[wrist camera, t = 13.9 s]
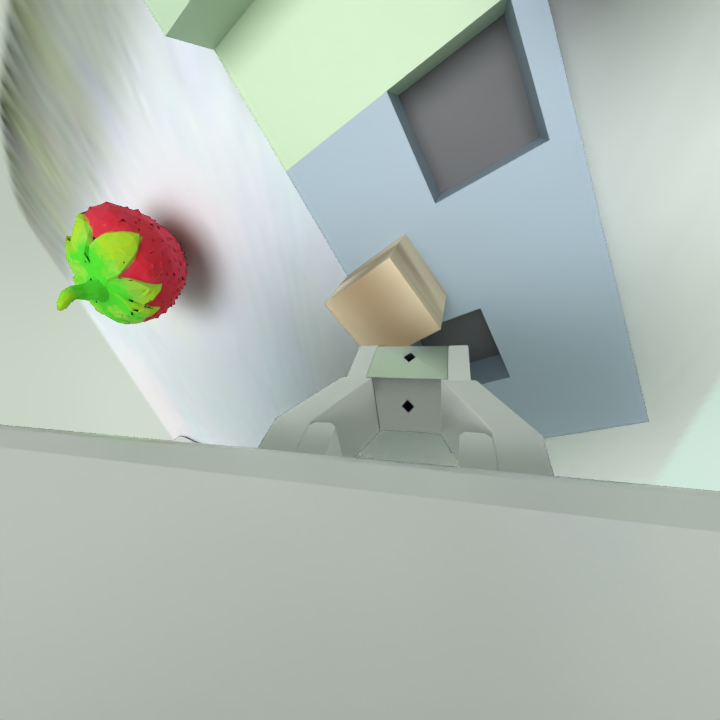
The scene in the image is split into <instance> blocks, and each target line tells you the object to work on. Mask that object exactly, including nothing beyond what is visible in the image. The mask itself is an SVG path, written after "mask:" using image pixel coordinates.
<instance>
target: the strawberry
mask: <svg viewBox="0 0 720 720" xmlns="http://www.w3.org/2000/svg"><path fill="white" fill-rule="evenodd" d="M180 245H181V244H180V243H178V242H177V241H176V239H175V236H173V235H171V234H170V230H169V229H166V228H165V227H163V226H160V225H159V224H158V223H156V220H153V219H151V217H149V216H146V215H144V214H141V212H140V211H139V210H138V209H136V210H132V209H129V208H128V207H122V206H119V205H116V204H112V203H109V202H105V203H103V204H100V205H97V206H94V207H89V209H88V211H86V212H83V213H80V214H77V218H76V221H75V225H74V228H73V232H72V236H66V242H65V248H66V259H67V261H68V263H69V265H70V267H71V269H72V271H73V273H74V274H75V276H74V277H73V282H74V283H75V285H74V286H70V287H68V288H66V289H65V290H63V291H62V292H61V294H60V296H59V298H58V301H57V310H60V311H61V310H64V309H66V308H67V307H68V306H69V304H70V303H71V302H73V301H74V300H75V299H82V300H88V301H90V303H91V304H92V305H93V306H94V307H95V309H96V311H98V312H100V313H101V314H105V315H106V316H107V317H109V318H111V319H113V320H115V321H116V322H119V323H123V324H136V323H141V322H145V321H148V320H150V319H154V318H159V316H160V315H161V314H162V313H166V312H167V309H168V308H169V307H172V305H174V304H175V299H178V295H180V291H181V290H182V289H183V286H184V285H186V283H185V280H186V276H187V275H188V274H187V273H188V272H187V270H186V266H187V265H188V264H187V263H186V262H185V260H186V258H185V257H184V254H185V252H183V251H182V250H181V247H180Z"/></svg>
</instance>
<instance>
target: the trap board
mask: <svg viewBox="0 0 720 720" xmlns="http://www.w3.org/2000/svg"><path fill="white" fill-rule="evenodd" d="M143 1H144V3H145V4H146V6H147V7H148V9H149V11H150V12H151V14H152V15H153V17H154V19H155V20H156V22H157V23H158V25H159V27H160V28H161V30H162V31H163V33H164V35H165V36H167V37H171V38H174V39H178V40H181V41H185V42H188V43H192V44H195V45H199V46H202V47H206V48H209V49H213V50H215V52H216V54H217V56H218V57H219V59H220V61H221V62H222V64H223V66H224V67H225V69H226V71H227V72H228V74H229V76H230V78H231V79H232V81H233V83H234V84H235V86H236V88H237V89H238V91H239V93H240V95H241V96H242V98H243V100H244V101H245V103H246V105H247V106H248V108H249V110H250V112H251V113H252V115H253V117H254V118H255V120H256V122H257V123H258V125H259V127H260V129H261V130H262V132H263V134H264V135H265V137H266V139H267V140H268V142H269V144H270V146H271V147H272V149H273V151H274V152H275V154H276V156H277V157H278V159H279V161H280V163H281V164H282V166H283V168H284V169H285V171H286V173H287V174H288V176H289V178H290V180H291V181H292V183H293V185H294V186H295V188H296V190H297V191H298V193H299V195H300V197H301V198H302V200H303V202H304V203H305V205H306V207H307V208H308V210H309V212H310V213H311V215H312V217H313V219H314V220H315V222H316V224H317V225H318V227H319V229H320V230H321V232H322V234H323V236H324V237H325V239H326V241H327V242H328V244H329V246H330V247H331V249H332V251H333V253H334V254H335V256H336V258H337V259H338V261H339V263H340V264H341V266H342V268H343V270H344V271H345V273H346V275H347V276H348V275H349V274H351V273H352V272H353V271H355V270H356V269H357V268H359V267H360V266H361V265H363V264H364V263H365V262H367V261H368V260H370V259H371V258H372V257H374V256H375V255H376V254H378V253H379V252H380V251H382V250H383V249H384V248H386V247H387V246H388V245H390V244H391V243H392V242H394V241H395V240H396V239H398V238H399V237H401V236H402V235H403V234H406V235H407V237H408V238H409V240H410V241H411V243H412V244H413V245H414V247H415V248H416V250H417V251H418V253H419V254H420V256H421V257H422V259H423V260H424V262H425V263H426V265H427V266H428V268H429V269H430V271H431V272H432V274H433V275H434V276H435V278H436V279H437V281H438V282H439V284H440V285H441V287H442V288H443V290H444V291H445V293H446V300H445V306H444V312H443V318H442V324H441V329H440V330H438V331H436V332H435V333H433V334H431V335H429V336H427V337H425V338H423V339H421V340H419V341H417V342H415V343H413V344H411V345H409V346H413V347H414V346H448V348H449V346H455V345H467V346H468V349H469V363H470V377H471V380H476V381H478V382H479V383H480V384H481V385H482V386H484V387H485V388H486V389H487V390H488V391H490V392H491V393H492V394H493V395H494V396H496V397H497V398H498V399H499V400H500V401H501V402H503V403H504V404H505V405H506V406H507V407H509V408H510V409H511V410H512V411H513V412H515V413H516V414H517V415H518V416H519V417H521V418H522V419H523V420H524V421H525V422H527V423H528V424H529V425H530V426H531V427H533V428H534V429H535V430H536V431H537V432H539V433H540V434H541V435H542V436H543V438H549V437H555V436H562V435H568V434H574V433H581V432H587V431H593V430H600V429H606V428H612V427H618V426H625V425H631V424H637V423H644V422H649V420H648V415H647V411H646V407H645V403H644V399H643V394H642V390H641V386H640V382H639V378H638V374H637V369H636V365H635V361H634V357H633V353H632V349H631V344H630V340H629V336H628V332H627V328H626V324H625V319H624V315H623V311H622V307H621V303H620V299H619V294H618V290H617V286H616V282H615V278H614V273H613V269H612V265H611V261H610V257H609V253H608V248H607V244H606V240H605V236H604V232H603V228H602V223H601V219H600V215H599V211H598V207H597V203H596V198H595V194H594V190H593V186H592V182H591V178H590V173H589V169H588V165H587V161H586V157H585V152H584V148H583V144H582V140H581V136H580V132H579V127H578V123H577V119H576V115H575V111H574V107H573V102H572V98H571V94H570V90H569V86H568V82H567V77H566V73H565V69H564V65H563V61H562V56H561V52H560V48H559V44H558V40H557V36H556V31H555V27H554V23H553V19H552V15H551V11H550V6H549V2H548V0H143ZM441 436H442V435H441ZM442 438H443V437H442ZM444 441H445V440H444ZM445 443H446V442H445ZM446 445H447V443H446ZM447 446H448V445H447ZM448 448H449V446H448ZM449 450H450V451H451V449H450V448H449ZM451 453H453V452H452V451H451Z"/></svg>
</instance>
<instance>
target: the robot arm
mask: <svg viewBox="0 0 720 720" xmlns="http://www.w3.org/2000/svg"><path fill="white" fill-rule="evenodd" d="M380 430H391V431H412V432H423V433H433V434H441V435H442V437H443V439H444V440H445V442H446V443H447V445H448V446H449V448H450V449H451V451H452V452H453V454H454V455H455V457H456V458H457V460H458V467H452V466H441V465H430V464H419V463H408V462H397V461H386V460H375V459H365V458H354V457H355V456H356V455H357V454H358V453H359V452H360V451H361V450H362V449H363V448H364V447H365V446H366V445H367V444H368V443H369V442H370V441H371V440H372V439H373V438H374V437H375V436H376V435H377V434H378V433H379V432H380ZM0 720H720V491H711V490H700V489H690V488H679V487H668V486H657V485H646V484H635V483H623V482H613V481H602V480H591V479H581V478H570V477H559V476H554V474H553V470H552V467H551V463H550V460H549V457H548V453H547V450H546V446H545V443H544V439H543V436H542V435H541V434H540V433H539V432H537V431H536V430H535V429H534V428H533V427H531V426H530V425H529V424H528V423H527V422H525V421H524V420H523V419H522V418H521V417H519V416H518V415H517V414H516V413H515V412H513V411H512V410H511V409H510V408H509V407H507V406H506V405H505V404H504V403H503V402H501V401H500V400H499V399H498V398H497V397H496V396H494V395H493V394H492V393H491V392H490V391H488V390H487V389H486V388H485V387H484V386H482V385H481V384H480V383H479V382H478V381H476V380H471V377H470V363H469V349H468V346H467V345H455V346H449V348H448V346H414V347H413V346H383V345H379V346H378V345H362V346H360V347H359V350H358V352H357V354H356V357H355V359H354V361H353V364H352V366H351V368H350V371H349V373H348V375H347V377H341V378H339V379H338V380H336V381H335V382H333V383H331V384H330V385H328V386H327V387H325V388H323V389H322V390H320V391H319V392H317V393H315V394H314V395H312V396H311V397H309V398H307V399H306V400H304V401H303V402H301V403H299V404H298V405H296V406H295V407H293V408H291V409H290V410H288V411H287V412H285V413H283V414H282V415H280V416H278V417H277V418H276V419H275V420H274V422H273V424H272V425H271V427H270V429H269V430H268V432H267V434H266V435H265V437H264V438H263V440H262V442H261V443H260V445H259V447H258V448H246V447H235V446H224V445H214V444H203V443H195V442H193V441H191V440H189V439H187V438H185V437H181V436H180V437H177V438H176V439H174V440H173V441H171V440H160V439H149V438H138V437H128V436H117V435H106V434H95V433H83V432H74V431H63V430H53V429H42V428H31V427H20V426H9V425H0Z"/></svg>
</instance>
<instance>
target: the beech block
mask: <svg viewBox="0 0 720 720" xmlns="http://www.w3.org/2000/svg"><path fill="white" fill-rule="evenodd" d="M445 300H446V293H445V291H444V290H443V288H442V287H441V285H440V284H439V282H438V281H437V279H436V278H435V276H434V275H433V274H432V272H431V271H430V269H429V268H428V266H427V265H426V263H425V262H424V260H423V259H422V257H421V256H420V254H419V253H418V251H417V250H416V248H415V247H414V245H413V244H412V243H411V241H410V240H409V238H408V237H407V235H406V234H403V235H402V236H401V237H399V238H398V239H396V240H395V241H394V242H392V243H391V244H390V245H388V246H387V247H386V248H384V249H383V250H382V251H380V252H379V253H378V254H376V255H375V256H374V257H372V258H371V259H370V260H368V261H367V262H365V263H364V264H363V265H361V266H360V267H359V268H357V269H356V270H355V271H353V272H352V273H351V274H349V275H348V277H347V278H346V279H345V280H344V281H343V283H342V284H341V285H340V286H339V287H338V288H337V290H336V291H335V292H334V293H333V294H332V296H331V297H330V298H329V299H328V300H327V302H326V303H325V305H326V306H327V308H328V309H329V310H330V311H331V312H332V314H333V315H334V316H335V317H336V318H337V320H338V321H339V322H340V323H341V324H342V326H343V327H344V328H345V329H346V331H347V332H348V333H349V334H350V335H351V337H352V338H353V339H354V340H355V341H356V343H357V344H358V345H359V346H362V345H378V346H379V345H383V346H409V345H411V344H413V343H415V342H417V341H419V340H421V339H423V338H425V337H427V336H429V335H431V334H433V333H435V332H436V331H438V330H440V329H441V324H442V318H443V312H444V306H445Z"/></svg>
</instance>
